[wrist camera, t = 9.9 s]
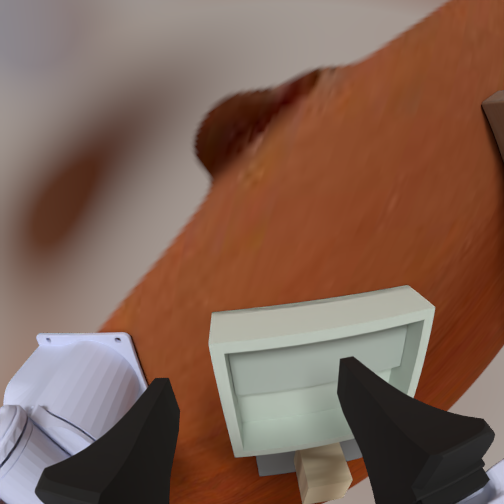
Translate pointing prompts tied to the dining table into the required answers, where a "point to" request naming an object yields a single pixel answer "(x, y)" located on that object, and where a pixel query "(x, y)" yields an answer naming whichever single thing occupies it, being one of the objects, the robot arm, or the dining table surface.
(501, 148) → the wooden block structure
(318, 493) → the birch block
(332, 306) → the box
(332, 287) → the dining table surface
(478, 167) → the dining table surface
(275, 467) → the mat
